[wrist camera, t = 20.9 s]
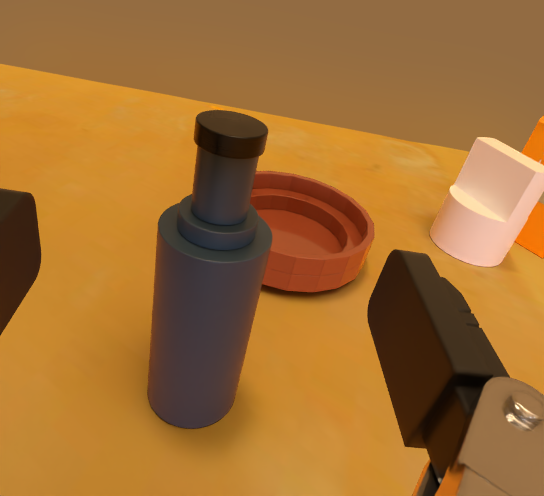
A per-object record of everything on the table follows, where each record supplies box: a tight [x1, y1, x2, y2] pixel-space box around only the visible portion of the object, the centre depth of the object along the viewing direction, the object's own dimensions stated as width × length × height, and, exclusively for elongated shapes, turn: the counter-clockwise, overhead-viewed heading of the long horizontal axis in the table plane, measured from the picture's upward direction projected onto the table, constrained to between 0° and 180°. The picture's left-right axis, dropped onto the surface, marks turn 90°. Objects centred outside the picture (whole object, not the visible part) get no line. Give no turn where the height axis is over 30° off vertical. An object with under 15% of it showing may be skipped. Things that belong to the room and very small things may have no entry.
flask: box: [148, 110, 273, 428], centre depth 25 cm, size 6×6×18 cm
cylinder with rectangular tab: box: [430, 137, 544, 267], centre depth 51 cm, size 9×9×12 cm
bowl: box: [250, 171, 374, 292], centre depth 45 cm, size 16×16×4 cm
